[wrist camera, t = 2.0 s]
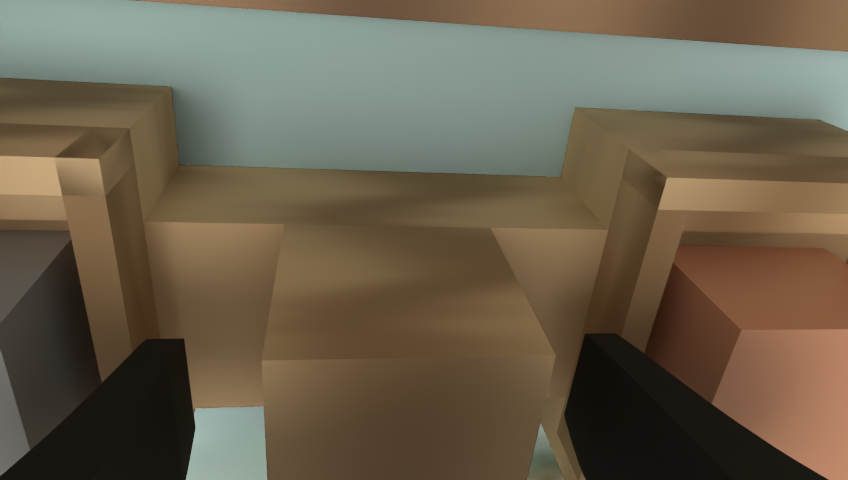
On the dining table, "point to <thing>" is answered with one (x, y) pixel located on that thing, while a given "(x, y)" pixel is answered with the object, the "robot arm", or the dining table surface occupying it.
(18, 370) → the light grey cube
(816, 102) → the dining table surface
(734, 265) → the salmon orange block
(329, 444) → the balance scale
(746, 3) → the dock
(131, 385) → the robot arm
